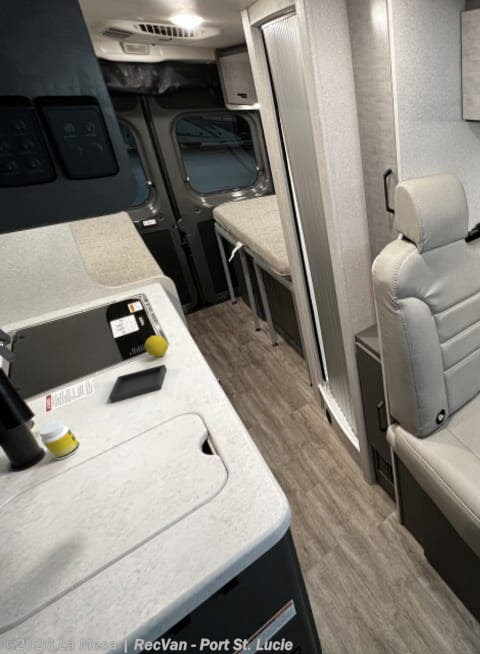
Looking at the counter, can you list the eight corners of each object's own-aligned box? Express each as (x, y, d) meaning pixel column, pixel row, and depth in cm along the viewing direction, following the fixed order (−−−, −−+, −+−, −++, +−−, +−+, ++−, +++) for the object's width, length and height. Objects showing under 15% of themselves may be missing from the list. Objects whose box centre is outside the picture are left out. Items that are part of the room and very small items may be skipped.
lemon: (146, 359, 124) (136, 339, 120) (163, 349, 128) (154, 329, 125) (159, 363, 122) (149, 342, 118) (175, 352, 127) (166, 332, 123)
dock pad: (111, 403, 107) (108, 398, 106) (120, 381, 115) (118, 376, 114) (161, 389, 112) (158, 384, 111) (166, 369, 119) (164, 364, 118)
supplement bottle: (84, 447, 94) (67, 423, 91) (60, 463, 91) (42, 438, 87) (74, 440, 96) (57, 416, 92) (50, 455, 92) (31, 431, 89)
